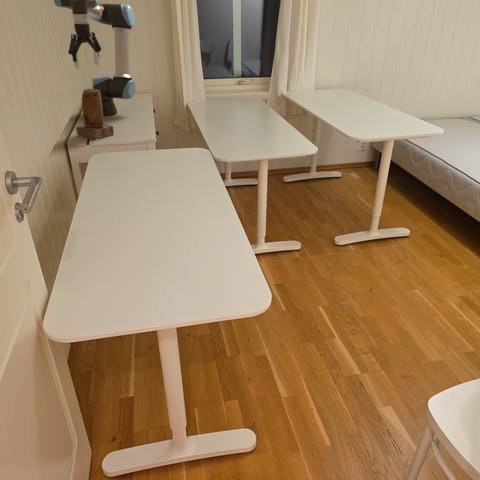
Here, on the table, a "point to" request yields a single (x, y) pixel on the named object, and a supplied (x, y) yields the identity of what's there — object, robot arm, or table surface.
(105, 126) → the walnut base
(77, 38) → the robot arm
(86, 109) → the block
